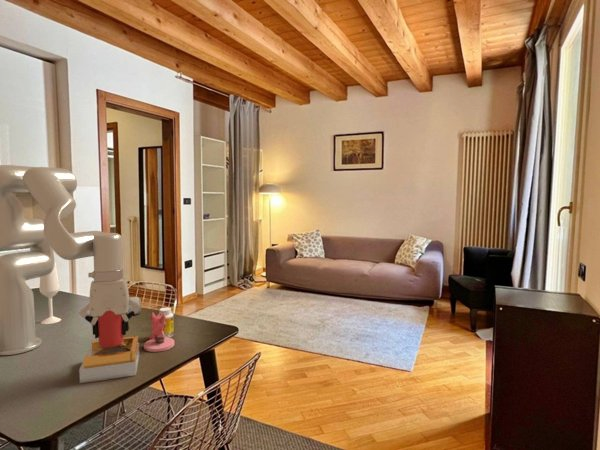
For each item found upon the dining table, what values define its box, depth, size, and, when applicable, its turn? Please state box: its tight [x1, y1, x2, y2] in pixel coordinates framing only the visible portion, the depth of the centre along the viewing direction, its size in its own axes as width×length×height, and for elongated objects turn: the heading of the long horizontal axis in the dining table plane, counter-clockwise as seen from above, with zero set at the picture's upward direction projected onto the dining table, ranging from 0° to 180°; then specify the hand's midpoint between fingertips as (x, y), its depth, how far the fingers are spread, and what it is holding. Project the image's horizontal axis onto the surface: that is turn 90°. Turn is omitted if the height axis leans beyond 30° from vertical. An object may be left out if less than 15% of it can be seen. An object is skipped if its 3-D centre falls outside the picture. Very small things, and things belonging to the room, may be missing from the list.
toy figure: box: [143, 310, 175, 353], centre depth 123 cm, size 10×10×12 cm
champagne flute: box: [39, 260, 62, 325], centre depth 144 cm, size 7×7×24 cm
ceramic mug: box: [127, 296, 142, 315], centre depth 155 cm, size 11×8×8 cm
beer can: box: [98, 308, 125, 348], centre depth 107 cm, size 7×7×12 cm
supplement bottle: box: [156, 307, 175, 338], centre depth 131 cm, size 6×6×10 cm
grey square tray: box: [78, 335, 140, 384], centre depth 108 cm, size 14×14×6 cm
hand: (111, 334), depth 107 cm, fingers closed on beer can, 6 cm apart
